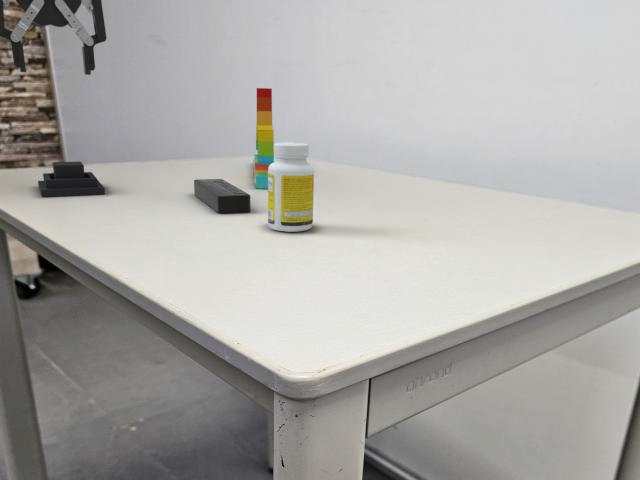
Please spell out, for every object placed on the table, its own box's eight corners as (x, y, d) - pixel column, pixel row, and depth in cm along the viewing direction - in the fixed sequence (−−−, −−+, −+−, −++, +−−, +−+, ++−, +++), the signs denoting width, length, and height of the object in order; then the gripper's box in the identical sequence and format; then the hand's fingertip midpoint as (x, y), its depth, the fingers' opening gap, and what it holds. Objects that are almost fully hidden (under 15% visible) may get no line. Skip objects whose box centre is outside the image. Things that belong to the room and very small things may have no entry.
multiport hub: (218, 214, 83) (218, 196, 82) (193, 195, 95) (193, 179, 94) (251, 212, 84) (251, 194, 83) (222, 193, 97) (222, 178, 96)
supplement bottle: (321, 227, 77) (323, 144, 74) (294, 235, 73) (296, 147, 69) (286, 220, 80) (286, 140, 76) (258, 228, 76) (257, 143, 72)
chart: (253, 164, 130) (252, 86, 124) (268, 164, 130) (268, 86, 125) (254, 188, 102) (253, 89, 96) (274, 189, 102) (274, 90, 97)
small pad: (56, 186, 92) (54, 165, 91) (54, 182, 95) (52, 162, 94) (85, 185, 94) (83, 164, 93) (82, 181, 97) (80, 161, 96)
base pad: (41, 197, 90) (39, 181, 89) (38, 187, 97) (36, 172, 96) (105, 194, 93) (103, 179, 92) (97, 185, 100) (96, 171, 99)
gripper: (-20, -70, 78) (0, 72, 84) (101, -56, 84) (112, 76, 90) (-18, -60, 84) (0, 71, 90) (94, -48, 90) (104, 74, 96)
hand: (56, 73), depth 90 cm, fingers open, 8 cm apart
